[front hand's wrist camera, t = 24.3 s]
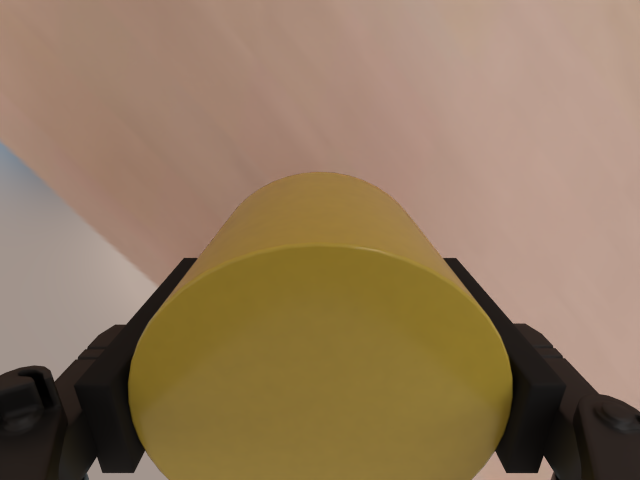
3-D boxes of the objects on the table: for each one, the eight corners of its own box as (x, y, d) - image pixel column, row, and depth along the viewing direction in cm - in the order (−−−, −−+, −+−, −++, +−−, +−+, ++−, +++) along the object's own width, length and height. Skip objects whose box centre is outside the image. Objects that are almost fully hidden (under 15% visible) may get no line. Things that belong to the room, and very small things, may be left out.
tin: (449, 322, 16) (546, 485, 9) (272, 383, 17) (241, 566, 10) (383, 132, 13) (455, 167, 6) (173, 224, 14) (40, 337, 7)
